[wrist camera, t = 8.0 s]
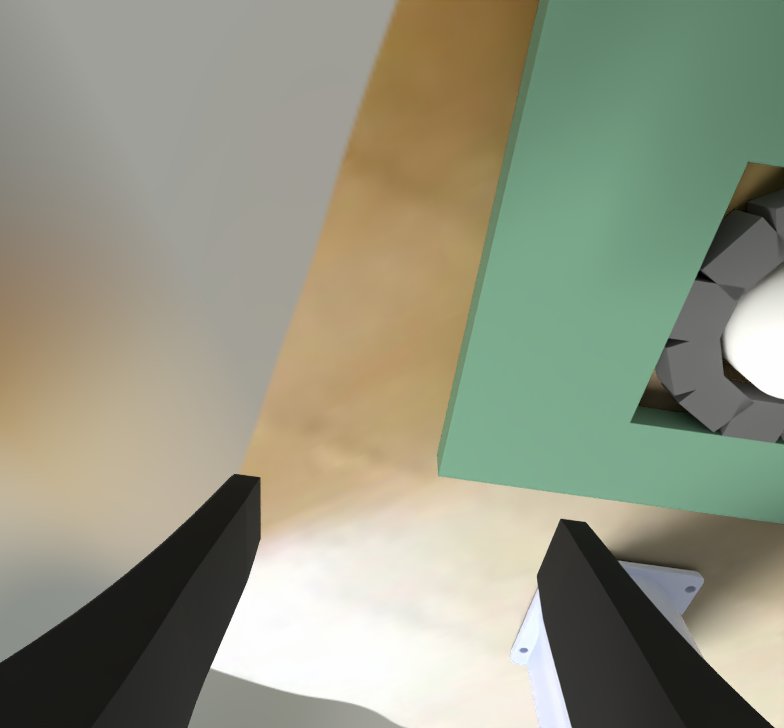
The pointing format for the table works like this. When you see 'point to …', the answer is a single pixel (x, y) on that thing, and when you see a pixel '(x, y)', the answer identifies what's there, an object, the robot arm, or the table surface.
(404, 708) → the table surface
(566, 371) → the mat
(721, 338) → the white smooth pebble
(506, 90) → the table surface
